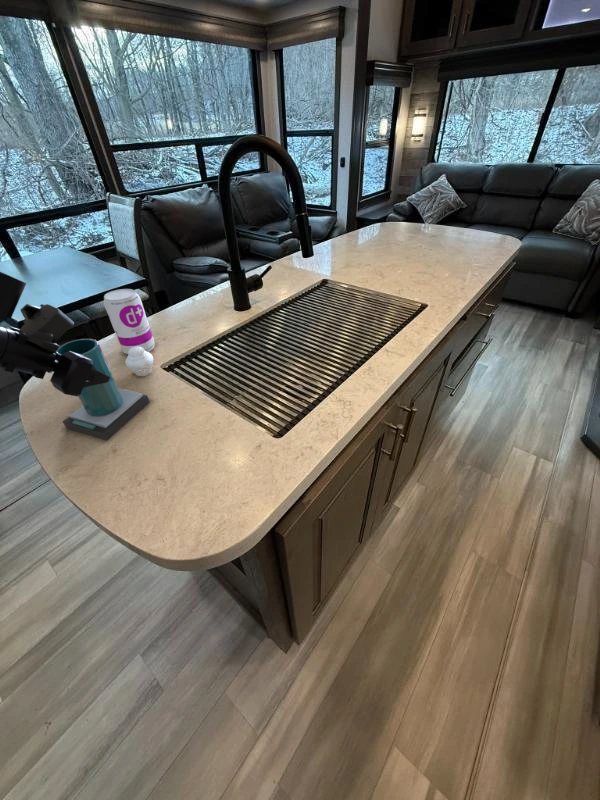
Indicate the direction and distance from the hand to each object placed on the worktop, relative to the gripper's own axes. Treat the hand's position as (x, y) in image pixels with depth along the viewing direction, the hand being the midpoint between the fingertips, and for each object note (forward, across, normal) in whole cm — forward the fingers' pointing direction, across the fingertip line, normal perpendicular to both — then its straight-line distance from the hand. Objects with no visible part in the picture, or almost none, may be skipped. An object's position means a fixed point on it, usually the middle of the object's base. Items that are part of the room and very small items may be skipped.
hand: (98, 373), depth 63 cm
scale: (+6, 0, +8) cm, 10 cm away
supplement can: (+20, +19, -6) cm, 28 cm away
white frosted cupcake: (+16, +8, -2) cm, 17 cm away
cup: (+4, 0, +6) cm, 7 cm away
